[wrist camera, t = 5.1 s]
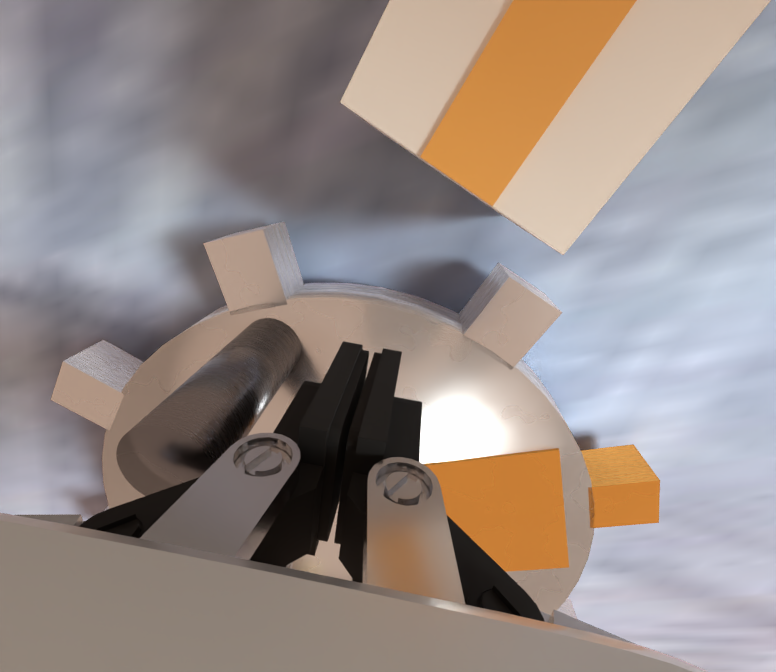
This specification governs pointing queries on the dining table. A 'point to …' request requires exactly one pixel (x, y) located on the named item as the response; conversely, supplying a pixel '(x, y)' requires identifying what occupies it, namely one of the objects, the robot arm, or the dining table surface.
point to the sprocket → (415, 382)
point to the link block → (539, 93)
